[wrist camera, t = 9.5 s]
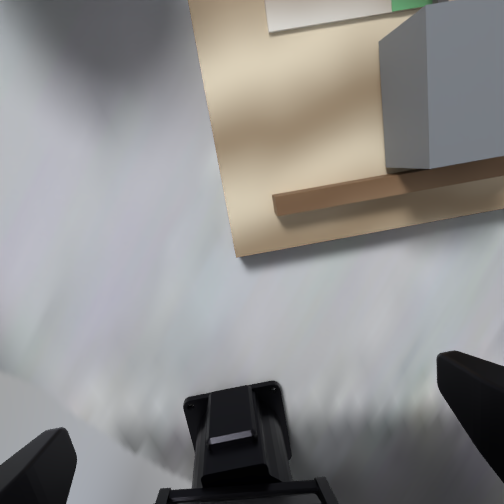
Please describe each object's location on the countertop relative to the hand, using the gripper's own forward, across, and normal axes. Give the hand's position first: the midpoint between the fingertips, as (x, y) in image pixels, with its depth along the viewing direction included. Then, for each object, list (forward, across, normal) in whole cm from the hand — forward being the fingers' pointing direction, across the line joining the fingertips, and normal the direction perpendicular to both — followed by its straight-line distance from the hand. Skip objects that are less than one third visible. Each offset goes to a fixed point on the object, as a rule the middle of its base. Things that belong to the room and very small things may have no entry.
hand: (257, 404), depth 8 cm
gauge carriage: (+11, -14, -9) cm, 20 cm away
